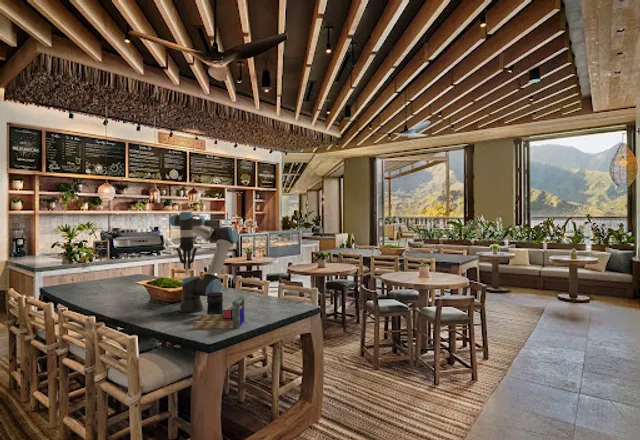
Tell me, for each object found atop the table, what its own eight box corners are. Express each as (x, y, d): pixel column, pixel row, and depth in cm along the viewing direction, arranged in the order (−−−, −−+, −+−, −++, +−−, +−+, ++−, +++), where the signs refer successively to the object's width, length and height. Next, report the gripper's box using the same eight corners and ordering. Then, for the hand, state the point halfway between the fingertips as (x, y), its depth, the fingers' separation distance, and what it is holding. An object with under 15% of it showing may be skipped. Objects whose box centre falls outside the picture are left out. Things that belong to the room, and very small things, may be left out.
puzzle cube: (240, 326, 225) (240, 309, 225) (223, 326, 225) (223, 310, 225) (243, 321, 235) (243, 305, 235) (227, 322, 235) (227, 305, 235)
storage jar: (217, 314, 253) (216, 291, 253) (226, 316, 247) (226, 293, 247) (204, 317, 246) (203, 294, 246) (213, 319, 240) (212, 296, 239)
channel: (193, 328, 221) (192, 302, 221) (201, 321, 236) (200, 296, 236) (239, 328, 222) (239, 302, 221) (244, 320, 237) (244, 296, 236)
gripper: (173, 237, 233) (174, 275, 234) (195, 236, 234) (196, 275, 234) (178, 236, 241) (178, 273, 241) (198, 236, 241) (199, 273, 242)
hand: (187, 274), depth 238 cm, fingers closed
